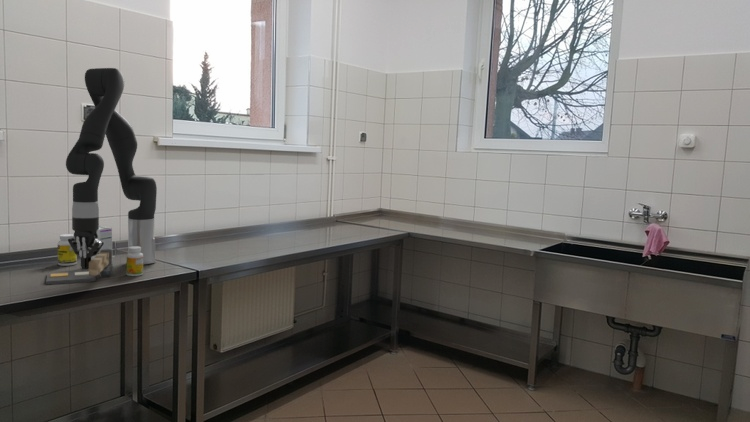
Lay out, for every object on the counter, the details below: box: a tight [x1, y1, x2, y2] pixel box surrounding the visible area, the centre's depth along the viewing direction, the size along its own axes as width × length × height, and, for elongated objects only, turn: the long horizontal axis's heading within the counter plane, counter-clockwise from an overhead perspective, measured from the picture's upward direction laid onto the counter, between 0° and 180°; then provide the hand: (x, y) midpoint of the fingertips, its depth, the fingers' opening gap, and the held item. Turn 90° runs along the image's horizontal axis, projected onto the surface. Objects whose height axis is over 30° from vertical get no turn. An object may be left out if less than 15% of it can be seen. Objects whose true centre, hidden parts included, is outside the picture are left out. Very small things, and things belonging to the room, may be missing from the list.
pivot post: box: [99, 264, 114, 278], centre depth 187 cm, size 4×4×4 cm
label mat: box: [45, 269, 96, 285], centre depth 182 cm, size 14×14×1 cm
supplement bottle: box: [126, 246, 144, 277], centre depth 190 cm, size 5×5×10 cm
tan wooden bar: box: [88, 249, 113, 277], centre depth 178 cm, size 21×4×5 cm, turn 15°
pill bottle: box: [57, 233, 78, 267], centre depth 201 cm, size 6×6×11 cm
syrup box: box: [91, 225, 114, 265], centre depth 201 cm, size 6×6×14 cm
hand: (85, 268), depth 176 cm, fingers closed
